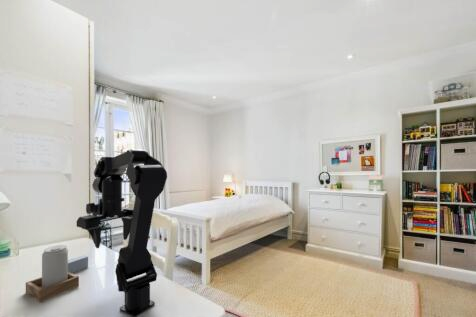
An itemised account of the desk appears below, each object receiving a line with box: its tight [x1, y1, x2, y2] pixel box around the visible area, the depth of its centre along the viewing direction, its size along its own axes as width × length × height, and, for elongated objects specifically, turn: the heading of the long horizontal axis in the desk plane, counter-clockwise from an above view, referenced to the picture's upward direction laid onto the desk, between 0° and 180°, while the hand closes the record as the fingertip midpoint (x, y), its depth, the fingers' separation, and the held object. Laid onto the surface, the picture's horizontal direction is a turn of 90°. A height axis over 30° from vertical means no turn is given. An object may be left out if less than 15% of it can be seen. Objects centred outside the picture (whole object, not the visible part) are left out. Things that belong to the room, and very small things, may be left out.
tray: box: [25, 272, 80, 303], centre depth 73 cm, size 10×10×3 cm
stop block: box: [68, 254, 89, 274], centre depth 86 cm, size 3×8×4 cm, turn 150°
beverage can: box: [41, 244, 69, 289], centre depth 74 cm, size 6×6×12 cm
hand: (111, 243), depth 77 cm, fingers open, 9 cm apart
